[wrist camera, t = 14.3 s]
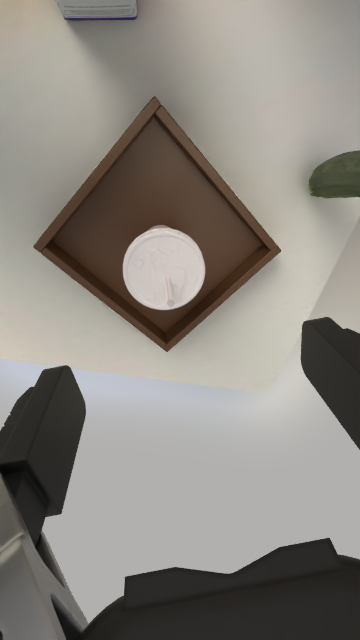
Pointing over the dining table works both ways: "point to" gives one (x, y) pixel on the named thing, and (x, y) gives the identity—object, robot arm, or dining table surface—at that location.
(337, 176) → the vegetable
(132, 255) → the smoothie
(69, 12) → the supplement box
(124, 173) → the tray
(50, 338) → the dining table surface
